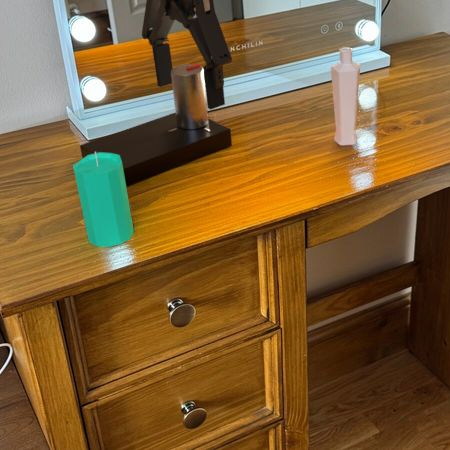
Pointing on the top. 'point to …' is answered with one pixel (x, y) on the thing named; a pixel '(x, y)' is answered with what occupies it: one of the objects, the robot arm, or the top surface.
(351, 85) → the perfume bottle
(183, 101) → the silver metal cylinder
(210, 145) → the block
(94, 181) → the candle
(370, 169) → the top surface
